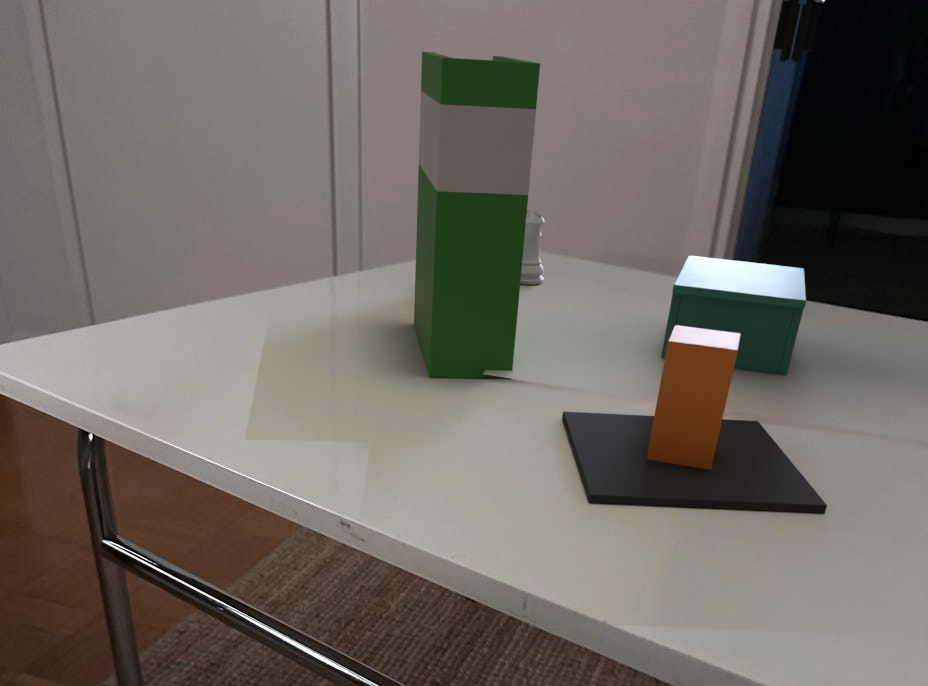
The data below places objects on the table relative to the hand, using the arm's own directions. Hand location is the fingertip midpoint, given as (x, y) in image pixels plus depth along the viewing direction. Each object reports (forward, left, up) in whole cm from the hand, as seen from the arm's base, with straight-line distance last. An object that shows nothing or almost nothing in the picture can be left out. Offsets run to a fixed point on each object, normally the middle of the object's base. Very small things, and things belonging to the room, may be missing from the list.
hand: (789, 61), depth 75 cm
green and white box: (+25, -2, -25) cm, 36 cm away
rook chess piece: (+16, -33, -25) cm, 45 cm away
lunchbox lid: (-1, -4, -18) cm, 19 cm away
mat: (+9, +24, -25) cm, 36 cm away
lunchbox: (-2, -5, -25) cm, 26 cm away
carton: (+10, +24, -24) cm, 36 cm away
